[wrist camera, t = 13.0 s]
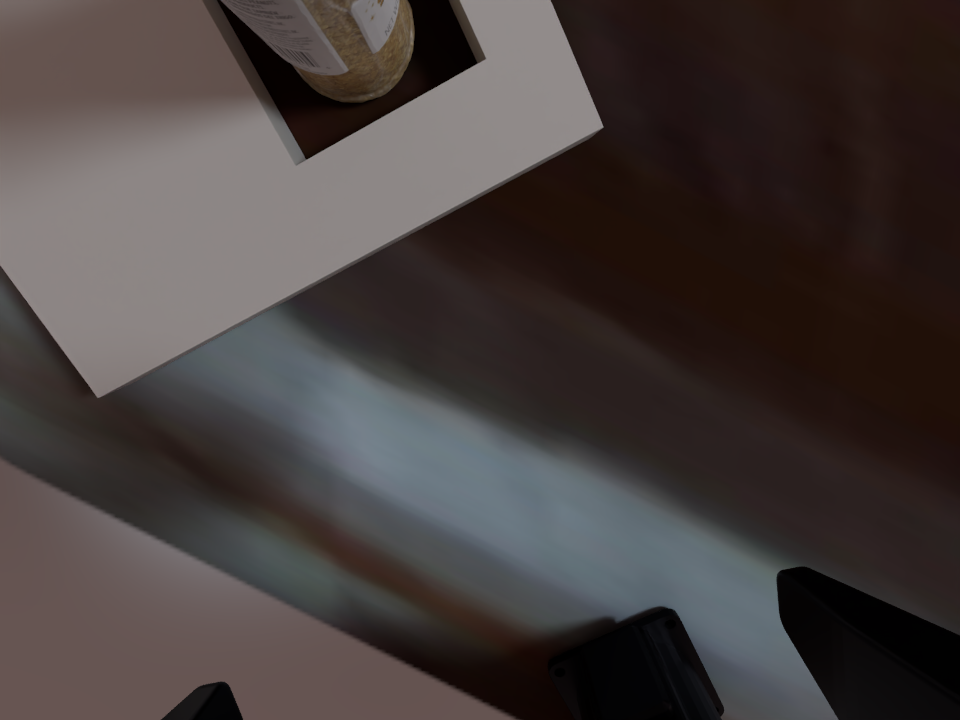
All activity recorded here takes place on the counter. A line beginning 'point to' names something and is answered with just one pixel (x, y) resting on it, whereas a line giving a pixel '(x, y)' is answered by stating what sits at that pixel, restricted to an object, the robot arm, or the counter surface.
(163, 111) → the block
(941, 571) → the counter surface
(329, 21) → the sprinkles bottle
